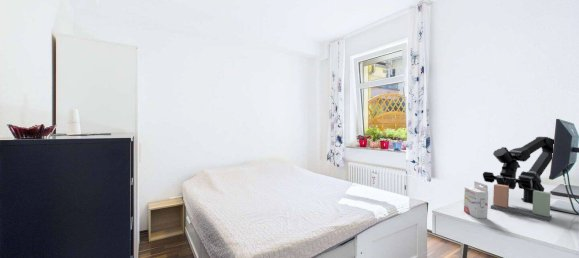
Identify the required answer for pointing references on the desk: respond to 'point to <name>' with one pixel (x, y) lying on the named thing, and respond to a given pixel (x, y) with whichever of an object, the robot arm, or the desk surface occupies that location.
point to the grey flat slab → (521, 212)
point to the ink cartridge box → (476, 200)
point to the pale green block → (541, 203)
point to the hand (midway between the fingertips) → (502, 192)
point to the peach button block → (501, 195)
